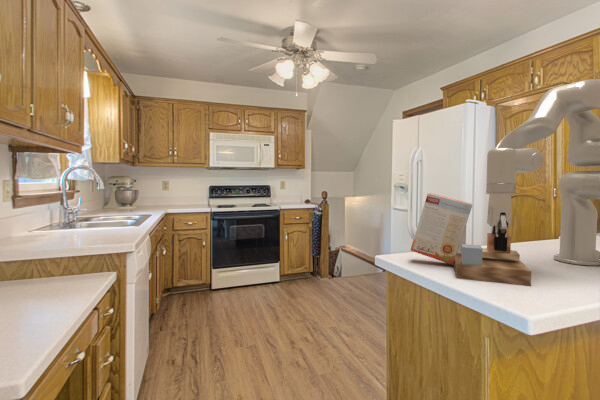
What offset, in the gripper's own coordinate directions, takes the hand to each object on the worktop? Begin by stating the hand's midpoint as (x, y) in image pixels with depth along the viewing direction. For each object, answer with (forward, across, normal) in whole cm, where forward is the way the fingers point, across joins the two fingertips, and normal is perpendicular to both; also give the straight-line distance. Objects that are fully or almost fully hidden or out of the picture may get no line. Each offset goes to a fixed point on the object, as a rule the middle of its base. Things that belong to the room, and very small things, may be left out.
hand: (498, 248), depth 97 cm
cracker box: (+5, -4, -19) cm, 20 cm away
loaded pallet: (+3, 0, 0) cm, 3 cm away
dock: (+8, +3, -3) cm, 9 cm away
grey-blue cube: (+4, +8, -8) cm, 12 cm away
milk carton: (+8, -18, -12) cm, 23 cm away
